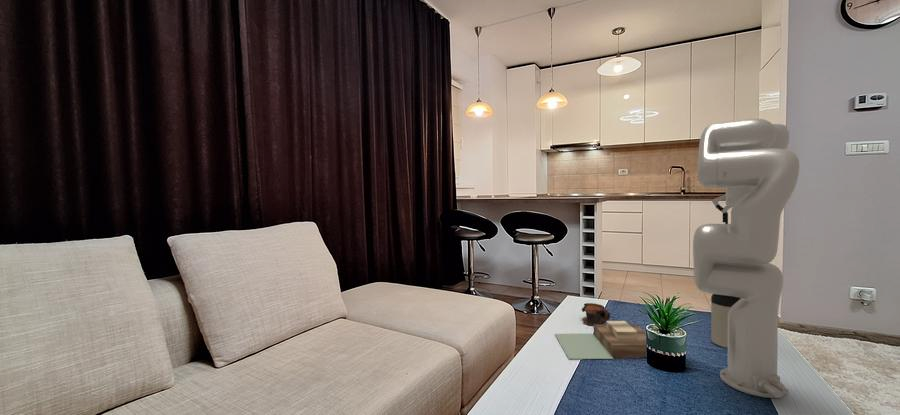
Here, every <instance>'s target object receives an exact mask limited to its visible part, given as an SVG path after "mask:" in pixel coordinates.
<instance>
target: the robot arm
mask: <svg viewBox="0 0 900 415" xmlns="http://www.w3.org/2000/svg"><path fill="white" fill-rule="evenodd" d="M789 143H790V132H789V128H788V127H787V126H786V125H785V124H780V123H772V122H771V121H769V120H766V119H763V118H746V119H738V120H731V121H730V120H729V121H722V122H713V123H711V124H709V125H707V126H706V127H705V128H704V129H703V131H702V133H701V136H700V138H699V143H698V144H699V145H698V154H697V155H698V156H697V166H696V176H697V179H698V182H699V183H700V185H701V186H703V187H706V188H708V189H709V188H710V189H722V188H723V189H724V188H725V194H723V195H721V196H718V197H716V198H714V199H712V200H711V202H712V203H713V205H714V206H715V208H716V209H717V210H718V211H720V212H721V213H722V223H705V224H701V225H699V226H698V227H697V228H696V229H695V232H694V233H693V234H694V235H693V241H692V254H693V255H692V256H693V279H694V283H695V286H696V287H697V289H698V290H699V291H701V292H703V293H704V294H705V293H706V294H712V295H713V294H718V295H726V296H734V297H739V298H741V299H740V300H739V301H737V302H736V303H735V304H734V305H733V306H732V307H731V308H730V309H729V312H728V348H727V367H725V368H723V369H721V370H720V372H719V376H720V379H721V381H722V382H723V383H725V384H726V385H727V386H729V387H732V388H733V389H735V390H738V391H740V392H743V393H744V394H747V395H752V396H756V397H760V398H769V399H771V398H772V399H773V398H774V399H780V398H782V397H784V396H785V395H787V394H788V393H789V389H788V388H786V386H785V383H783V382H782V381H781V376H780V375H778V345H779V344H778V343H779V342H778V341H779V340H778V331H779V328H778V326H779V323H778V322H779V318H778V317H779V306H780V300H781V295H782V290H783V287H784V286H783V285H784V275H783V272H782V270H781V269H780V268H779V267H778V266H776V265H775V264H772V263H771V262H773V261H774V259H775V258H776V256H777V254H778V249H779V238H780V237H779V236H780V225H781V216H782V212H783V210H784V209H785V207H786V205H787V203H788V201H789V200H790V199H791V198H792V195H793V193H794V190H795V188H796V185H797V182H798V179H799V173H800V160H799V157H798V155H797V154H796V153H795V152H793V151H791V150H788V145H789ZM723 200H725V206H724V207H723V206H722V205H720V203H719V202H720V201H723ZM730 209H731V210H730ZM729 210H730V223H729V212H728V211H729Z"/></svg>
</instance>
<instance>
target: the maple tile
mask: <svg viewBox="0 0 900 415" xmlns="http://www.w3.org/2000/svg"><path fill="white" fill-rule="evenodd" d="M605 324H606V328H607V330H608V331H609V332H610V333H611V334H612V335H613V336H614V337H615V338H616V339H617V340H638V336H637V331H636V330H635V329H634V328H633V327H631V326H630V325H629V324H630V323H628V322H627V321H626V320H608V321H606V322H605Z"/></svg>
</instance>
